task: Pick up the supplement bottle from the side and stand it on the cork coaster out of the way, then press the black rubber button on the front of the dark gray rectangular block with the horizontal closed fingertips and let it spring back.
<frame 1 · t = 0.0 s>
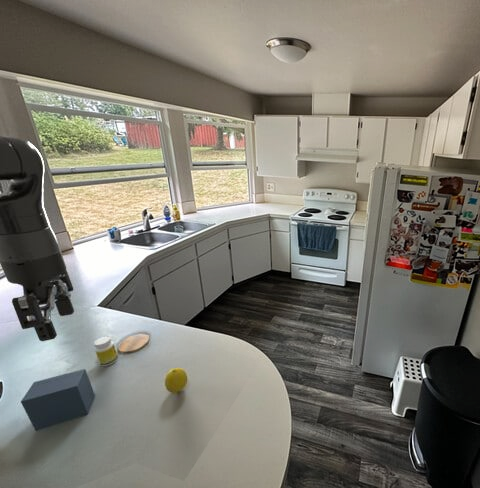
hand: (58, 326, 51), 32 cm above the table, tool pointing down, fingers open, 8 cm apart
coaster: (134, 344, 90), on the table
supplement bottle: (109, 361, 83), on the table
lemon: (178, 391, 74), on the table
button: (66, 381, 68), point 6 cm above the table, slide at 0.1 cm
dark gray rectangular block: (67, 412, 66), on the table
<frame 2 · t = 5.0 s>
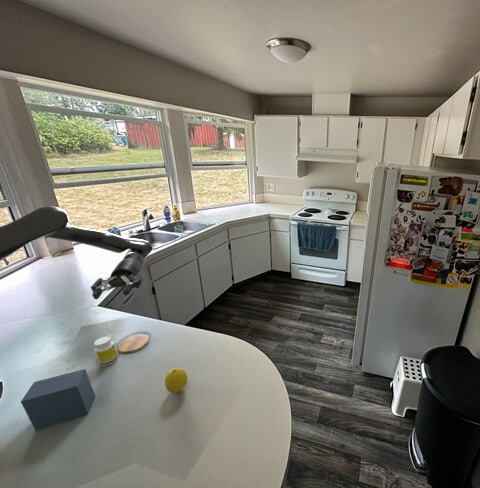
hand: (110, 295, 87), 18 cm above the table, tool horizontal, fingers open, 8 cm apart
nothing on the table moved.
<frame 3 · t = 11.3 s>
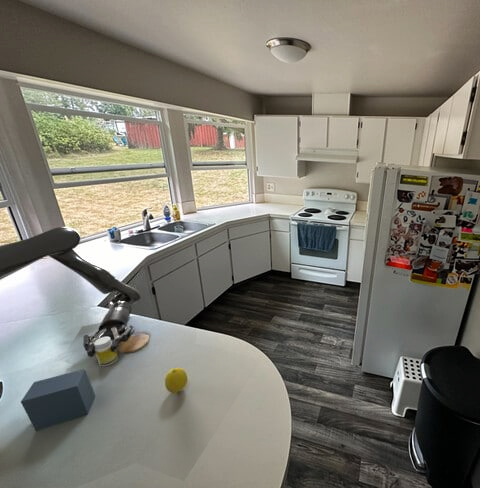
hand: (101, 352, 79), 6 cm above the table, tool horizontal, fingers closed on supplement bottle, 4 cm apart
supplement bottle: (109, 361, 83), on the table, touching gripper
everything else where it was.
when the fingers open (7 cm above the table, at t = 18.4 s): supplement bottle stays where it is, resting on coaster.
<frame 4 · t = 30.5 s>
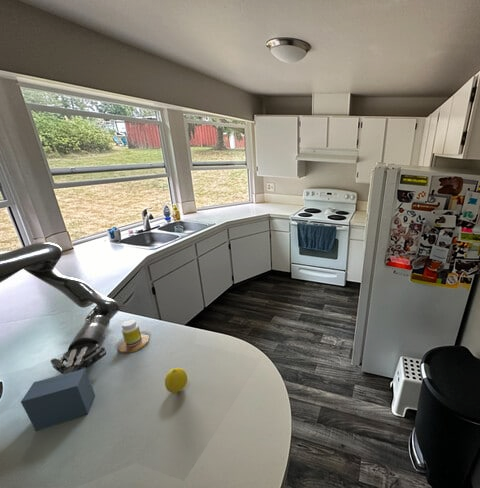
hand: (67, 379, 68), 7 cm above the table, tool horizontal, fingers closed
supplement bottle: (134, 342, 90), point 1 cm above the table, touching coaster
button: (66, 382, 68), point 6 cm above the table, slide at 0.0 cm, touching gripper
everything else where it was.
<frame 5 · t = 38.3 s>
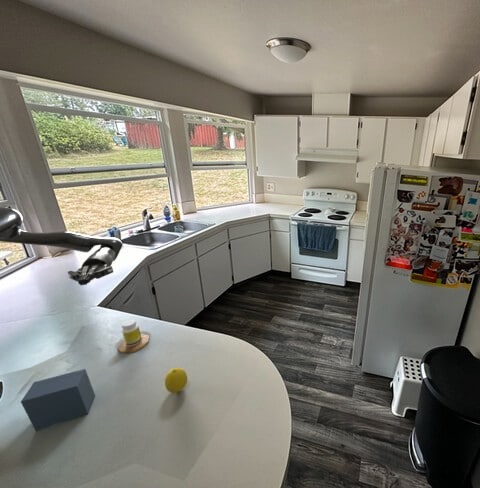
hand: (82, 282, 83), 24 cm above the table, tool horizontal, fingers closed
button: (66, 381, 68), point 6 cm above the table, slide at 0.1 cm
everything else where it was.
at the end: supplement bottle 0.2 cm off-centre on the coaster, point 0.6 cm above the coaster's base; button pushed in 1.1 cm at the most during the clip, back to where it started at the end; button slide at 0.1 cm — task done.
